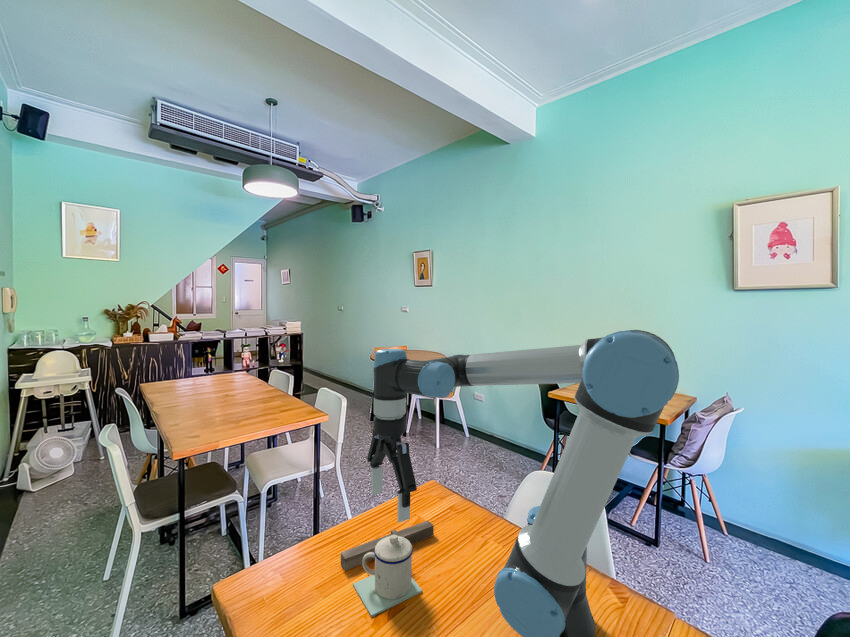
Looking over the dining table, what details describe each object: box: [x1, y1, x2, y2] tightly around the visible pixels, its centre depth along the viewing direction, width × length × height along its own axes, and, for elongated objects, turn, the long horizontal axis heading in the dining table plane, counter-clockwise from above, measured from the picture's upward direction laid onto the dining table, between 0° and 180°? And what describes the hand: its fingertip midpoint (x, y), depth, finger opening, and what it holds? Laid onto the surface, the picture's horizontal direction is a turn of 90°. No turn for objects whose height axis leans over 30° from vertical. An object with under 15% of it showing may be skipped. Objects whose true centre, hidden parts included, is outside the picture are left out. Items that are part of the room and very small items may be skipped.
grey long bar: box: [340, 520, 435, 572], centre depth 95 cm, size 8×27×6 cm, turn 123°
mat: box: [352, 575, 423, 618], centre depth 83 cm, size 10×13×1 cm
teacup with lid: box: [361, 535, 414, 599], centre depth 83 cm, size 12×9×12 cm
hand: (389, 505), depth 83 cm, fingers open, 13 cm apart
